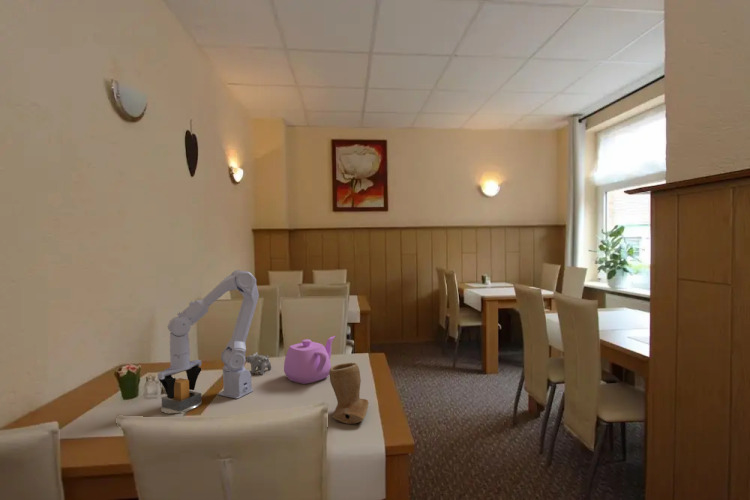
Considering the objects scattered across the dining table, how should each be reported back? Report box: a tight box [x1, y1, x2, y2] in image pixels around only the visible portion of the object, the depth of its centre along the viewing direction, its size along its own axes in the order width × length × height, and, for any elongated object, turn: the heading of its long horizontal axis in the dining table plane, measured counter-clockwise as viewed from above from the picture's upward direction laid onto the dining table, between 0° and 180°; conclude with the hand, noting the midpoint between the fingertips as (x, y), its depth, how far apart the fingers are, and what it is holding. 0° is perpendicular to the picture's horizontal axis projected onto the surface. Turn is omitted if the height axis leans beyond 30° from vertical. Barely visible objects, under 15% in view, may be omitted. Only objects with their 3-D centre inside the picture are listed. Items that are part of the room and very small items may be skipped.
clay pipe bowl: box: [328, 362, 369, 425], centre depth 113 cm, size 15×12×15 cm
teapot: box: [283, 335, 336, 385], centre depth 147 cm, size 23×21×15 cm
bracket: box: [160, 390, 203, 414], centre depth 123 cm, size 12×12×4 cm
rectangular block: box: [173, 378, 190, 400], centre depth 123 cm, size 3×4×8 cm, turn 64°
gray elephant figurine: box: [245, 351, 272, 376], centre depth 155 cm, size 9×12×8 cm
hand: (181, 393), depth 123 cm, fingers open, 7 cm apart
